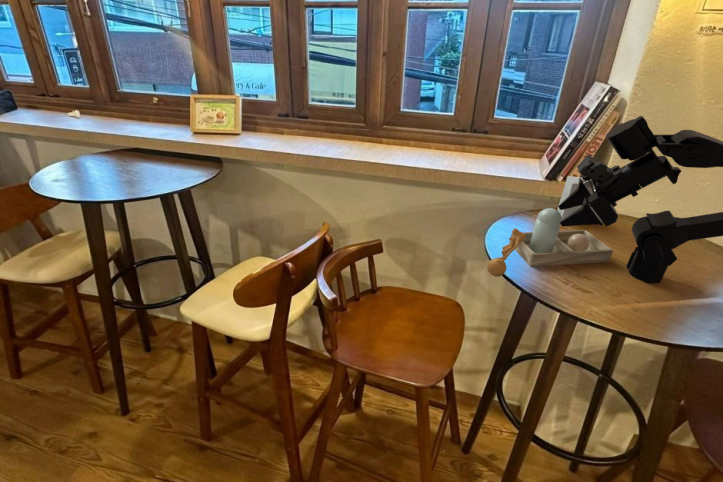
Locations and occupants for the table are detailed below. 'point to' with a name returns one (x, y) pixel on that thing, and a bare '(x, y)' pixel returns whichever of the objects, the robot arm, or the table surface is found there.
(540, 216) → the pale blue pillar
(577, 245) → the brown egg
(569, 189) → the skincare box
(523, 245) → the caddy
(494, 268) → the figurine
